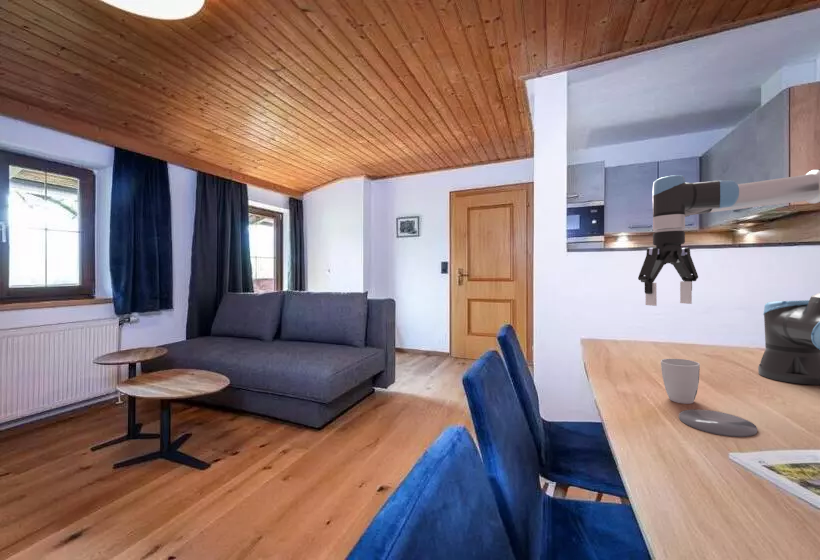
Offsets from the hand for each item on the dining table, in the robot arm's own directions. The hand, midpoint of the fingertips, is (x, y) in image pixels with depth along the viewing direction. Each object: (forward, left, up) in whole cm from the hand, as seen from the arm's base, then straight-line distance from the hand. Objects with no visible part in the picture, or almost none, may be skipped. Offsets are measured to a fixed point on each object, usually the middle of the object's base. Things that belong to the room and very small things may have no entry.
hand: (668, 304), depth 102 cm
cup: (+6, +10, -24) cm, 27 cm away
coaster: (+10, +24, -24) cm, 36 cm away
